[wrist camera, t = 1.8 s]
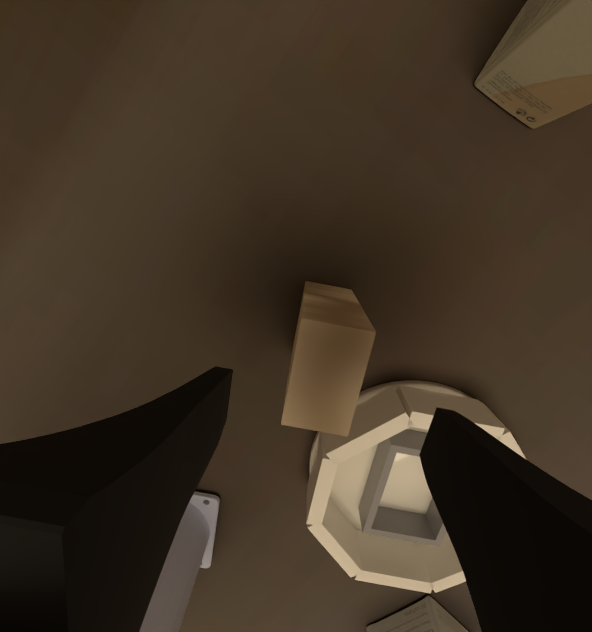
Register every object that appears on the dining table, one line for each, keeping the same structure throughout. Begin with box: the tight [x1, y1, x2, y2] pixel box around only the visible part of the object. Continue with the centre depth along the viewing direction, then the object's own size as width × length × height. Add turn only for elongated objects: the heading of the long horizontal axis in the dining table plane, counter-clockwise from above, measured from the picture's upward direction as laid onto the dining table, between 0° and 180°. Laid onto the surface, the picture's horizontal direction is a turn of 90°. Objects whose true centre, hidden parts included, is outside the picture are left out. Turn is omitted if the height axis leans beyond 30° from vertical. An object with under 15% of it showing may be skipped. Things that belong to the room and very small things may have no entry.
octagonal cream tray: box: [306, 380, 526, 593], centre depth 22 cm, size 14×14×4 cm
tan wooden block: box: [281, 281, 376, 437], centre depth 17 cm, size 3×5×8 cm, turn 170°
